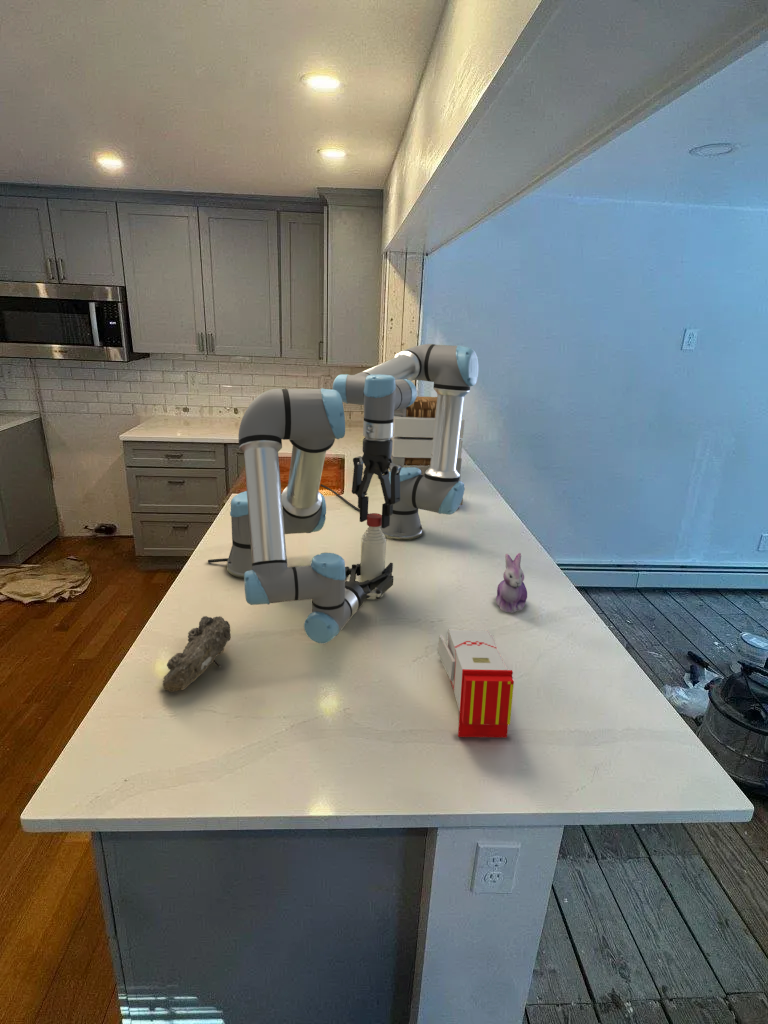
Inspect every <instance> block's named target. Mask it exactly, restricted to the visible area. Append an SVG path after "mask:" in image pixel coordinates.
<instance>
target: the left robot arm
mask: <svg viewBox="0 0 768 1024" xmlns="http://www.w3.org/2000/svg"><path fill="white" fill-rule="evenodd" d="M345 435H346V418H345V409H344V402H342V399H341V396H340V394H339V392H338V391H336V390H333V388H332V389H329V388H323V387H321V388H272V389H268V390H265V391H264V392H261V393H260V394H259V395H257V396H256V397H255V398H254V399H253V400H252V401H251V403H249V405H248V407H247V408H246V410H245V412H244V414H243V416H242V418H241V421H240V423H239V428H238V449H239V451H240V452H241V453H242V454H243V457H244V472H245V485H246V490H245V491H242V492H239V493H238V494H236V495H234V496H233V498H232V499H231V501H230V511H229V516H230V517H231V518H230V521H231V541H232V544H231V548H230V551H229V555H228V557H226V558H225V557H224V558H214V559H212V558H211V559H208V560H207V563H208V564H211V563H223V562H226V570H227V572H228V574H230V575H231V576H233V577H236V578H239V579H243V582H244V596H245V601H246V603H247V604H248V605H251V606H257V605H270V604H271V605H272V604H278V603H287V602H297V601H307V600H308V601H310V600H311V612H310V613H309V614H308V616H307V617H306V619H305V620H304V623H303V629H304V632H305V634H306V636H307V637H308V639H310V640H311V641H312V642H314V643H316V644H323V645H324V644H328V643H329V642H331V641H332V640H333V639H334V638H336V636H338V635H339V633H340V632H341V631H342V630H343V628H344V627H345V626H346V625H347V624H348V622H349V621H350V619H351V618H353V616H354V615H355V614H356V613H357V611H358V610H359V609H360V608H361V607H363V604H364V603H365V601H366V600H368V599H367V598H369V597H370V596H375V597H376V599H375V600H381V599H382V597H383V596H384V595H383V594H385V593H386V592H387V591H388V590H390V589H391V588H392V586H394V578H395V577H394V575H393V570H394V563H393V562H389V563H388V565H387V566H385V569H384V570H383V571H382V575H380V576H378V577H376V578H374V579H372V580H370V581H369V580H366V581H364V582H360V580H356V578H357V577H360V565H361V562H360V563H356V564H354V563H353V564H351V568H350V566H346V562H345V559H344V558H343V557H342V556H341V555H339V554H337V553H334V552H321V553H320V554H319V553H318V554H315V555H314V556H313V557H312V558H311V561H310V562H311V563H310V564H309V565H308V564H307V565H300V566H299V565H298V566H297V565H296V566H288V562H287V561H288V559H287V558H288V557H287V546H286V535H294V534H312V533H316V532H319V531H321V530H322V529H323V528H324V525H325V523H326V518H327V517H326V514H327V503H326V499H325V496H324V495H323V494H322V493H321V492H320V487H321V486H320V485H321V481H322V474H323V470H324V464H325V459H326V455H327V451H329V450H330V449H331V448H332V447H333V445H334V444H335V441H336V440H340V439H343V438H344V437H345ZM282 440H284V441H285V440H287V441H289V442H290V444H291V445H292V449H291V458H290V465H289V472H288V482H287V486H286V487H285V488H284V489H283V491H282V484H281V483H282V482H281V471H280V460H279V459H280V458H279V452H280V451H281V450H282V449H283V441H282ZM348 578H349V580H347V579H348ZM374 589H375V590H374ZM372 590H373V591H372ZM382 595H383V596H382ZM381 596H382V597H381Z"/></svg>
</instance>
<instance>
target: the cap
mask: <svg viewBox="0 0 768 1024" xmlns="http://www.w3.org/2000/svg"><path fill="white" fill-rule="evenodd" d="M366 525H367V527H369V526H371V527H379V526H381V525H382V513H377V512H372V513H371V512H370V513H368V515H367V520H366Z"/></svg>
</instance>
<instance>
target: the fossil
mask: <svg viewBox="0 0 768 1024" xmlns="http://www.w3.org/2000/svg"><path fill="white" fill-rule="evenodd" d="M231 632H232V631H231V625H230V623H229V621H227V620H225V618H223V616H221V615H219V616H213V617H211V616H210V617H209V616H207V615H203V616H202V617H201V618H200V621H199V622H198V627H193V628H191V629H190V630H189V631H188V633H187V634H188V635H187V638H188V639H187V641H188V643H186V645H185V646H184V649H183V651H182V652H176V654H174V655H173V656H172V657H170V658H169V660H168V662H167V663H166V667H167V668H168V670H169V671H168V672H167V673H166V675H164V676H163V680H162V686H163V690H164V691H168V692H170V693H172V692H178V691H183V690H186V688H188V686H189V685H191V684H192V683H193V682H195V681H196V680H197V678H198V677H200V676H201V675H202V674H203V673H205V672H206V671H207V669H208V667H209V665H211V664H212V663H214V664H215V665H216V666H217V667H218V668H220V667H221V664H219V662H218V661H217V660H216V658H217V657H218V656H219V655H221V654H222V653H223V652H224V650H225V647H226V646H227V644H228V642H229V641H230V640H231V639H232V637H231V636H232V635H231Z"/></svg>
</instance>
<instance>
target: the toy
mask: <svg viewBox="0 0 768 1024" xmlns="http://www.w3.org/2000/svg"><path fill="white" fill-rule="evenodd" d="M446 640H447V643H446V641H445V639H444V636H443V635H442V634H439V637H438V646H437V656H438V657H439V659H440V661H441V663H442V666H443V668H444V670H445V672H446V674H447V677H448V679H449V681H450V684H451V687H452V690H453V693H454V697H455V701H456V705H457V708H458V711H459V714H458V715H459V716H458V730H457V731H458V732H457V737H458V738H508V731H509V726H510V725H511V717H512V707H513V697H514V696H513V695H514V684H515V680H514V679H513V673H514V671H513V670H512V669H508V667H507V665H506V662H505V661H504V659H503V658H502V655H501V653H500V651H499V649H498V647H497V643H496V639H495V637H494V635H493V634H491V632H490V631H489V629H467V628H466V629H465V628H463V629H461V628H460V629H459V628H448V630H447V639H446Z"/></svg>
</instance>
